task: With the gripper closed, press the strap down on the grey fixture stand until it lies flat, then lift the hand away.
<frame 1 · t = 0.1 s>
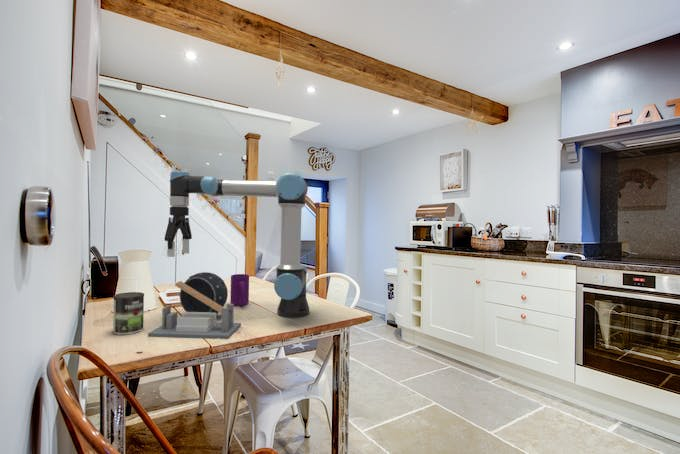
hand: (178, 255, 154), 28 cm above the table, fingers open, 13 cm apart
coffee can: (128, 331, 137), on the table
grey fixture stand: (197, 330, 139), on the table
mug: (240, 306, 179), on the table
black short cylinder: (203, 317, 158), on the table
strap: (203, 299, 138), point 13 cm above the table, hinge at 30.0°
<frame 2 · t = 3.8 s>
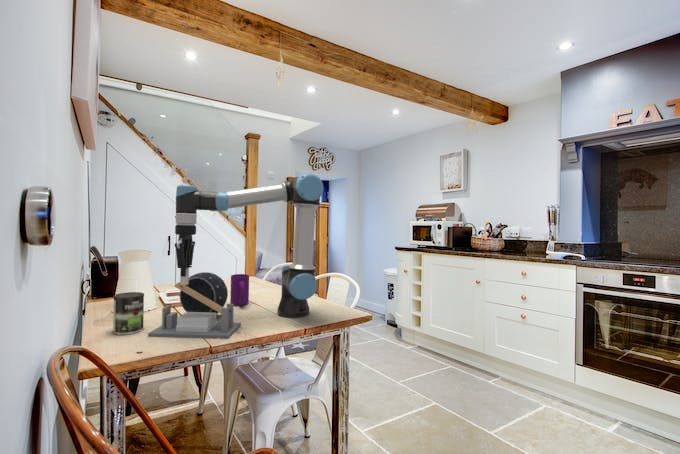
hand: (184, 284, 138), 18 cm above the table, fingers closed
strap: (203, 299, 138), point 13 cm above the table, hinge at 28.8°, touching gripper
everything else where it was.
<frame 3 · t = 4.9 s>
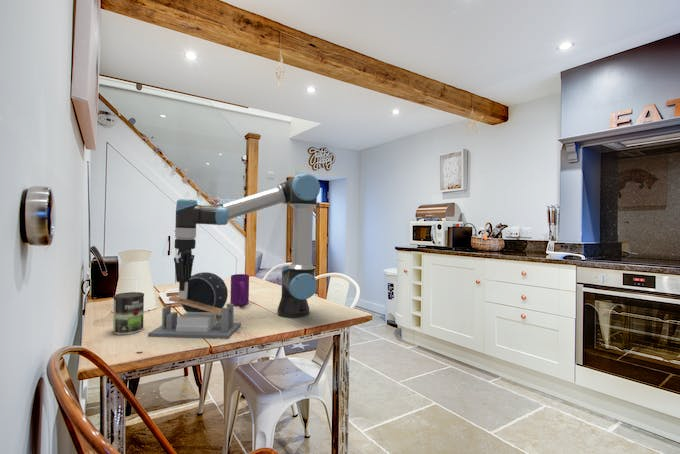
hand: (183, 298, 138), 13 cm above the table, fingers closed
strap: (200, 306, 138), point 10 cm above the table, hinge at 14.1°, touching gripper
everything else where it was.
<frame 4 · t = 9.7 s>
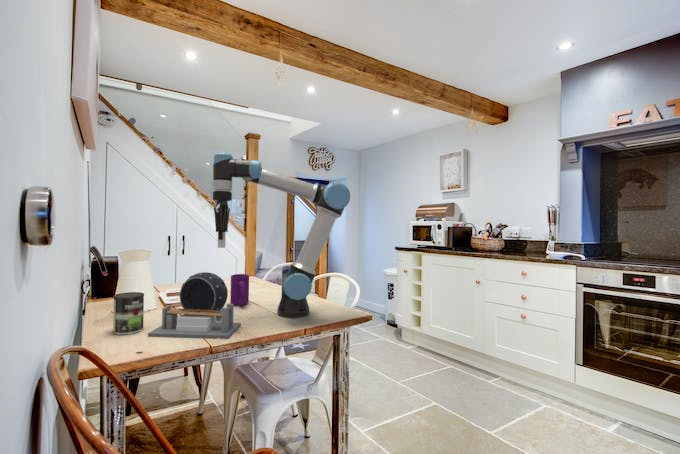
hand: (221, 247, 147), 32 cm above the table, fingers closed
strap: (199, 312, 138), point 7 cm above the table, hinge at 1.3°
everything else where it was.
at the end: strap at +1° (first picture: +30°); the gripper is holding nothing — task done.
